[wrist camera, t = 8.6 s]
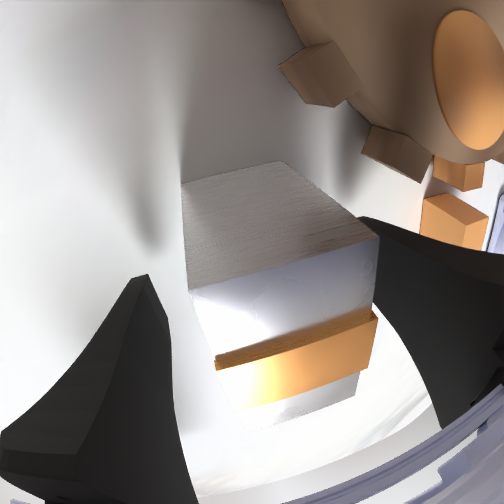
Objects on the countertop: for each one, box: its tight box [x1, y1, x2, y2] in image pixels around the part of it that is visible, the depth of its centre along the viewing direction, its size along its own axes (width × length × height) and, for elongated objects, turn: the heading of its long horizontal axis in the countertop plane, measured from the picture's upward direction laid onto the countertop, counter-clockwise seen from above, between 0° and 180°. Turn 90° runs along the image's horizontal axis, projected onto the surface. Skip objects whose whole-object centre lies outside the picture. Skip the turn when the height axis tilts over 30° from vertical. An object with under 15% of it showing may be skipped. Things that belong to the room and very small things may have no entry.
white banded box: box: [181, 161, 379, 431], centre depth 9 cm, size 6×4×6 cm, turn 9°
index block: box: [420, 193, 489, 251], centre depth 12 cm, size 3×2×3 cm, turn 9°
